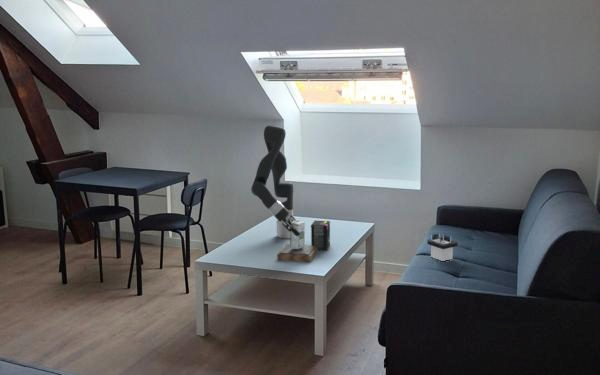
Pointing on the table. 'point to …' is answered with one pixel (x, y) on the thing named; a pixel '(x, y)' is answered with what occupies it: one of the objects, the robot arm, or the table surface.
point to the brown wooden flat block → (297, 253)
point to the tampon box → (320, 234)
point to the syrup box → (298, 241)
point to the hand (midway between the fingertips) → (300, 233)
